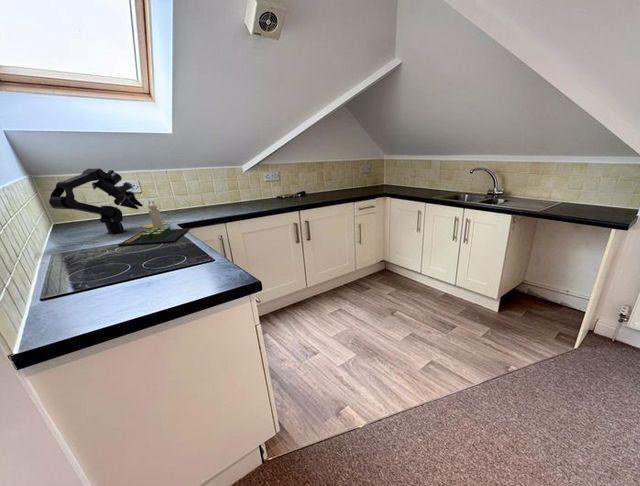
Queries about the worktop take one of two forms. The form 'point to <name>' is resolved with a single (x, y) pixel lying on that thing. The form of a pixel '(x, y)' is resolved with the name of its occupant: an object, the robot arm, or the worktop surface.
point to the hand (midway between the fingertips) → (140, 207)
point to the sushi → (155, 236)
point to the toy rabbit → (155, 215)
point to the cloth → (150, 225)
